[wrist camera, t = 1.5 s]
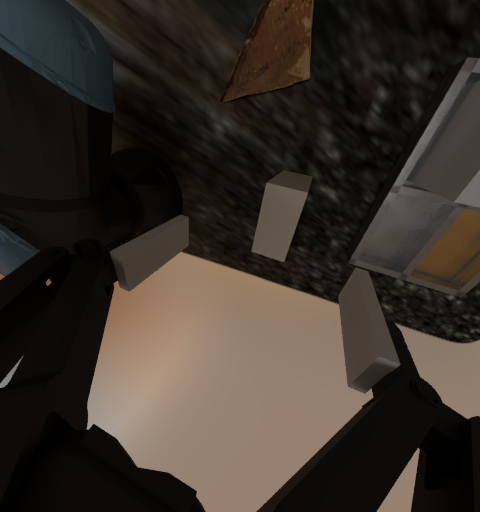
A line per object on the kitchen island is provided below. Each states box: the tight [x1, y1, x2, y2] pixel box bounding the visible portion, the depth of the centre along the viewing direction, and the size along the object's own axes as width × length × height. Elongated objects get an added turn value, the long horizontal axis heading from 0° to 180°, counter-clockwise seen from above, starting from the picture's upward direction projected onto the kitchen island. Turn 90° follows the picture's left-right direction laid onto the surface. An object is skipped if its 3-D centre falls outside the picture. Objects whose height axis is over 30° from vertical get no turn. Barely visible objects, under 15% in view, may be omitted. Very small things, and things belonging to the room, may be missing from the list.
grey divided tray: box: [346, 57, 480, 297], centre depth 20 cm, size 14×20×3 cm
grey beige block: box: [252, 170, 313, 262], centre depth 24 cm, size 4×8×10 cm, turn 171°
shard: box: [220, 0, 314, 102], centre depth 21 cm, size 11×8×2 cm
